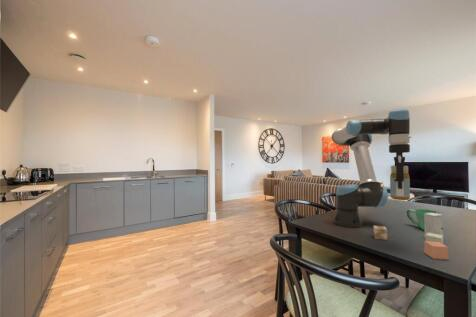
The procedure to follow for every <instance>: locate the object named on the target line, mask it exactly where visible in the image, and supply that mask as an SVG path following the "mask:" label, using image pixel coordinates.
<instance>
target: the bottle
mask: <svg viewBox="0 0 476 317" xmlns="http://www.w3.org/2000/svg"><path fill="white" fill-rule="evenodd" d="M390 170H391V173H390V175H389V179H390V180H389V181H390V182H389V183H390V184H389V186H390V189H389V190H390V194H389V195H390V198H391V199H392V200H396V201H397V200H398V201H408V200H410V198H411V188H410V187H411V181H410V180H411V179H410V174H409V166H408V165H404V166H403V172H404V196H396V181H394V180H396V166H395V165H391V166H390Z"/></svg>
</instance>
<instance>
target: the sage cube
mask: <svg viewBox="0 0 476 317" xmlns="http://www.w3.org/2000/svg"><path fill="white" fill-rule="evenodd" d="M425 241H431V242H440V243H441V244H443V245H444V234H443V235H438V234H433V233H427V234H426V238H425Z"/></svg>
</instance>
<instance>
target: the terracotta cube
mask: <svg viewBox="0 0 476 317" xmlns="http://www.w3.org/2000/svg"><path fill="white" fill-rule="evenodd" d="M423 245H424V249H423V250H424V254H425V255H427V256H429V257H430V258H431V259H434V260H449V246H446V245H445V244H444V243H443V244H441V243H440V242H431V241H426V240H424V244H423Z"/></svg>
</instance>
